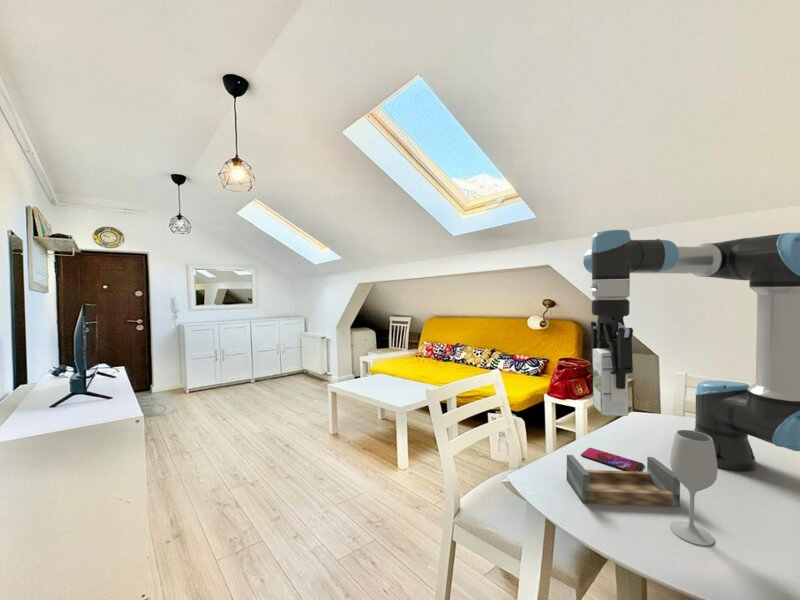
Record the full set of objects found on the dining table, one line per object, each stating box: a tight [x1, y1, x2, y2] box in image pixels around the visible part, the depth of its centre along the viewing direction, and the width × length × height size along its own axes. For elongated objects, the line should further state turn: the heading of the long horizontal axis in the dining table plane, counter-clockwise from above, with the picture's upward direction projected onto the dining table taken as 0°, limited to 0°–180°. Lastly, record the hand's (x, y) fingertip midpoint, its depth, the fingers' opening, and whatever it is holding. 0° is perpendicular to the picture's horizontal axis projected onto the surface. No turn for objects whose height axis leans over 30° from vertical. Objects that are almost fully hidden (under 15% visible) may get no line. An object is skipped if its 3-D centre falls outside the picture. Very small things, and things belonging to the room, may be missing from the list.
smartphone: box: [580, 447, 645, 472], centre depth 106 cm, size 8×1×15 cm
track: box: [566, 454, 681, 508], centre depth 90 cm, size 22×10×7 cm, turn 86°
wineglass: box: [669, 429, 719, 547], centre depth 74 cm, size 8×8×21 cm
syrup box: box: [592, 348, 629, 417], centre depth 83 cm, size 6×6×14 cm
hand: (609, 396), depth 83 cm, fingers closed on syrup box, 6 cm apart
